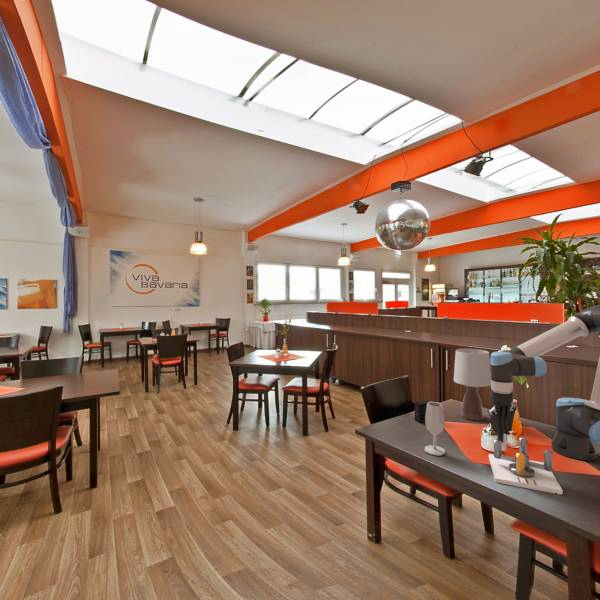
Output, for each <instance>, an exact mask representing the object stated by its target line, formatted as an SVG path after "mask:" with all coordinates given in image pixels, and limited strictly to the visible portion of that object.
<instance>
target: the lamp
mask: <svg viewBox="0 0 600 600" xmlns="http://www.w3.org/2000/svg"><path fill="white" fill-rule="evenodd" d="M454 358H455V359H454V371H453V382H454V383H456V384H458V385H460V386H461V385H462V386H465V388H466V391H465V394H464V396H463V399H462V404H461V412H460V414H461V418H463V419H465V420H469V421H473V422H474V421H476V422H478V421H483V420H484V418H485V417H484V411H483V404H482V400H481V397H480V394H479V392H478V390H479V388H484V387H485V388H486V387H491V365H490V352H489V351H487V350H483V349H478V348H457V349H456V350H455V355H454Z"/></svg>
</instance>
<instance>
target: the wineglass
mask: <svg viewBox="0 0 600 600" xmlns="http://www.w3.org/2000/svg"><path fill="white" fill-rule="evenodd" d="M444 413H445V412H444V407H443V406H442V403H440V402H436V401H431V402H428V404H427V407H426V413H425V422H424V423H425V427H426V430H427V431H428V432H429V433H430V434H432V444H429V445H426V446H424V452H425V453H427V454H429V455H431V456H438V457H441V456H443V455H444V456H445V454H446V450H445V448H443V447H441V446H439V445H437V435H439V434H440V433H441V432H443V431H444V427H445V415H444Z"/></svg>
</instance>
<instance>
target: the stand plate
mask: <svg viewBox="0 0 600 600" xmlns="http://www.w3.org/2000/svg"><path fill="white" fill-rule="evenodd" d="M488 460H489V463H490V468H491V471H492V475H493V480H494V483H496V484H504V485H508V486H512V487H519V488H525V489H530V490H534V491H541V492H544V493H545V492H546V493H551V494H555V493H557V494H556V495H561V494H564V493H563V492H564V490H563V488H562V487H561V485H560V483H559V481H558V480H557V479H556V477H555V475H554V474H553V471H552V472H549V471H546V470H544V469H540V468H536V467H532V466H529V467H531V468H532V469H534V471H535V475H534V476H533V477H522V476H518V475H516V474H514V473H512V472H511V471H510V470H509V465H510V464H511V463H515V462H512V461H507V460H503V459H497V458H495V457H494V453H493V454H492V453H488ZM529 461H531V462H535V463H539V464H543V465H544V461H542V462H541V461H536V460H530V459H529Z"/></svg>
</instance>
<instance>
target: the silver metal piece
mask: <svg viewBox="0 0 600 600" xmlns="http://www.w3.org/2000/svg"><path fill="white" fill-rule="evenodd" d="M518 441H519V442H518V443H519V445H518V446H519V447H518V451H517V452H515V453H514V457H513V456H509V455H505V454H502V450H501V440H499V439H498V438H493V455H494V457H495V458H497V459H503V460H507V461H512V462H515V463H511V464H510V465H509V470H510V471H511V472H512V473H514V474H516V475H518V476H522V477H533V476H534V475H535V471H534V469H532V468H531V467H529V466H532V467H536V468H540V469H544V470H546V471H549V472H552V473H553V469H554V467H553V463H554V461H553V459H554V458H553V456H554V455H553V453H554V452H553V451H551V450H550V449H544V450H543V463H544V465H543V464H539V463H535V462H531V461H532V460H531V461H529V460H530V456H529V455H528V438H527V437H526V436H525V437H524V436H519V438H518Z"/></svg>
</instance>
